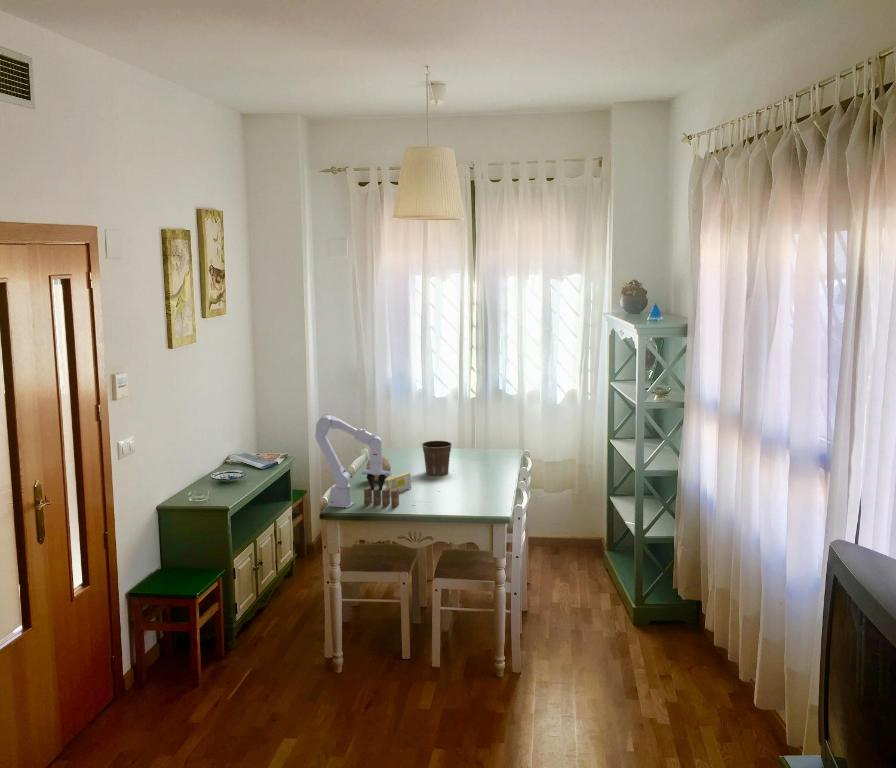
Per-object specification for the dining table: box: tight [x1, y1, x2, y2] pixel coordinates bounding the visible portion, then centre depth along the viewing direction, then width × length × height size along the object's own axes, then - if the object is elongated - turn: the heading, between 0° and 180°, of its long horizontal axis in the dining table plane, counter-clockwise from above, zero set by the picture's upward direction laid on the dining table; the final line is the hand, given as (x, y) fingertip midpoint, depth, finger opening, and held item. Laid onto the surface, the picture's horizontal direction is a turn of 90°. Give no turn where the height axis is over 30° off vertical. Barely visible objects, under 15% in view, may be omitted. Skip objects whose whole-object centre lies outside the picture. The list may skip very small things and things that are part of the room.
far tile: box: [390, 488, 400, 509], centre depth 404 cm, size 2×5×8 cm, turn 164°
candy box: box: [385, 472, 412, 496], centre depth 429 cm, size 16×2×8 cm, turn 141°
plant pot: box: [421, 440, 453, 477], centre depth 464 cm, size 16×16×16 cm
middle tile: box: [381, 487, 391, 508], centre depth 406 cm, size 2×5×8 cm, turn 164°
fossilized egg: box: [365, 453, 392, 483], centre depth 449 cm, size 13×13×15 cm
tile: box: [372, 486, 382, 507], centre depth 407 cm, size 2×5×8 cm, turn 164°
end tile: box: [363, 486, 373, 507], centre depth 408 cm, size 2×5×8 cm, turn 164°
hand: (376, 490), depth 406 cm, fingers open, 3 cm apart
